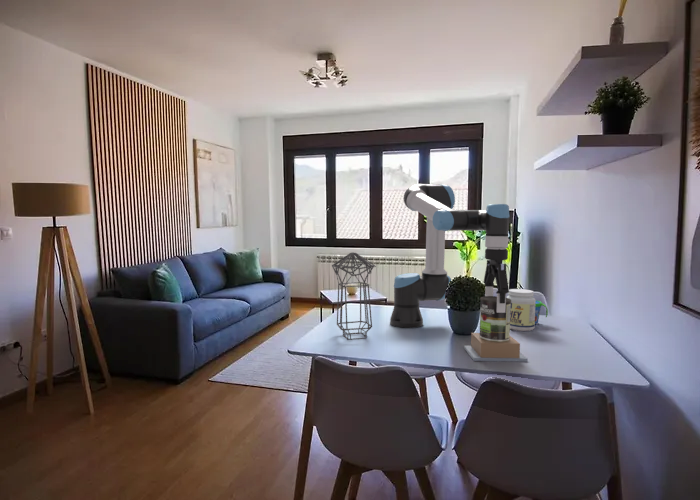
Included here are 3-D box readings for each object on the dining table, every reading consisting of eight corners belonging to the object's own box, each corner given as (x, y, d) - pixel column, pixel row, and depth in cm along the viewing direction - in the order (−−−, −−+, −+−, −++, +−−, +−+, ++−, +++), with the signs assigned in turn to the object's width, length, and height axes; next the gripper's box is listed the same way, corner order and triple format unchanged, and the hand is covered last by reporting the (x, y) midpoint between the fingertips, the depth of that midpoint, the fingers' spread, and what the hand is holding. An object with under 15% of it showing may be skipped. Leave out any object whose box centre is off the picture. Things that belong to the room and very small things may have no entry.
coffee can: (494, 343, 137) (495, 302, 136) (473, 335, 146) (474, 297, 145) (516, 339, 141) (517, 300, 140) (494, 332, 150) (495, 295, 149)
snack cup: (508, 322, 190) (509, 301, 190) (514, 318, 199) (514, 298, 198) (545, 327, 181) (545, 305, 181) (549, 322, 190) (549, 301, 189)
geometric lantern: (340, 343, 158) (338, 253, 156) (332, 333, 173) (330, 252, 172) (378, 339, 161) (377, 252, 160) (367, 330, 177) (366, 251, 175)
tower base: (473, 360, 137) (474, 343, 137) (463, 348, 151) (464, 332, 151) (527, 361, 136) (528, 344, 136) (512, 348, 150) (513, 332, 150)
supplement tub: (499, 327, 182) (500, 290, 181) (514, 323, 189) (515, 287, 188) (525, 333, 172) (526, 293, 171) (540, 328, 179) (541, 291, 178)
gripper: (520, 251, 129) (518, 316, 130) (496, 245, 154) (494, 300, 155) (497, 251, 129) (494, 316, 131) (476, 245, 154) (474, 300, 156)
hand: (494, 308), depth 143 cm, fingers open, 13 cm apart
